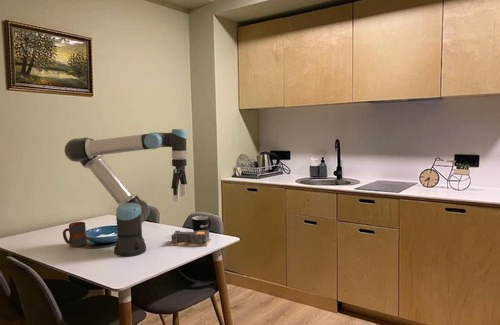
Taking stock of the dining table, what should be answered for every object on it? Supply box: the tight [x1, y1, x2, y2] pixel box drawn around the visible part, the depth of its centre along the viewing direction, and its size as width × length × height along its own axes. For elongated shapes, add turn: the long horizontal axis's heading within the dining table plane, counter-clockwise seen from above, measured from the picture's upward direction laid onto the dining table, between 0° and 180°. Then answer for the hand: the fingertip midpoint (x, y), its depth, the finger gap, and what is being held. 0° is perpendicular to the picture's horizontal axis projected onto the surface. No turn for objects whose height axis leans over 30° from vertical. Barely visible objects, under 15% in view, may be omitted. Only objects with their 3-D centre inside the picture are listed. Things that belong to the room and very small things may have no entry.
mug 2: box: [191, 215, 211, 232], centre depth 215 cm, size 12×9×10 cm
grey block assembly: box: [170, 229, 211, 247], centre depth 199 cm, size 19×10×6 cm, turn 86°
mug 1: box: [62, 221, 88, 248], centre depth 197 cm, size 9×12×12 cm
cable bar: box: [173, 231, 205, 243], centre depth 199 cm, size 16×5×5 cm, turn 86°
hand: (179, 198), depth 198 cm, fingers open, 13 cm apart
